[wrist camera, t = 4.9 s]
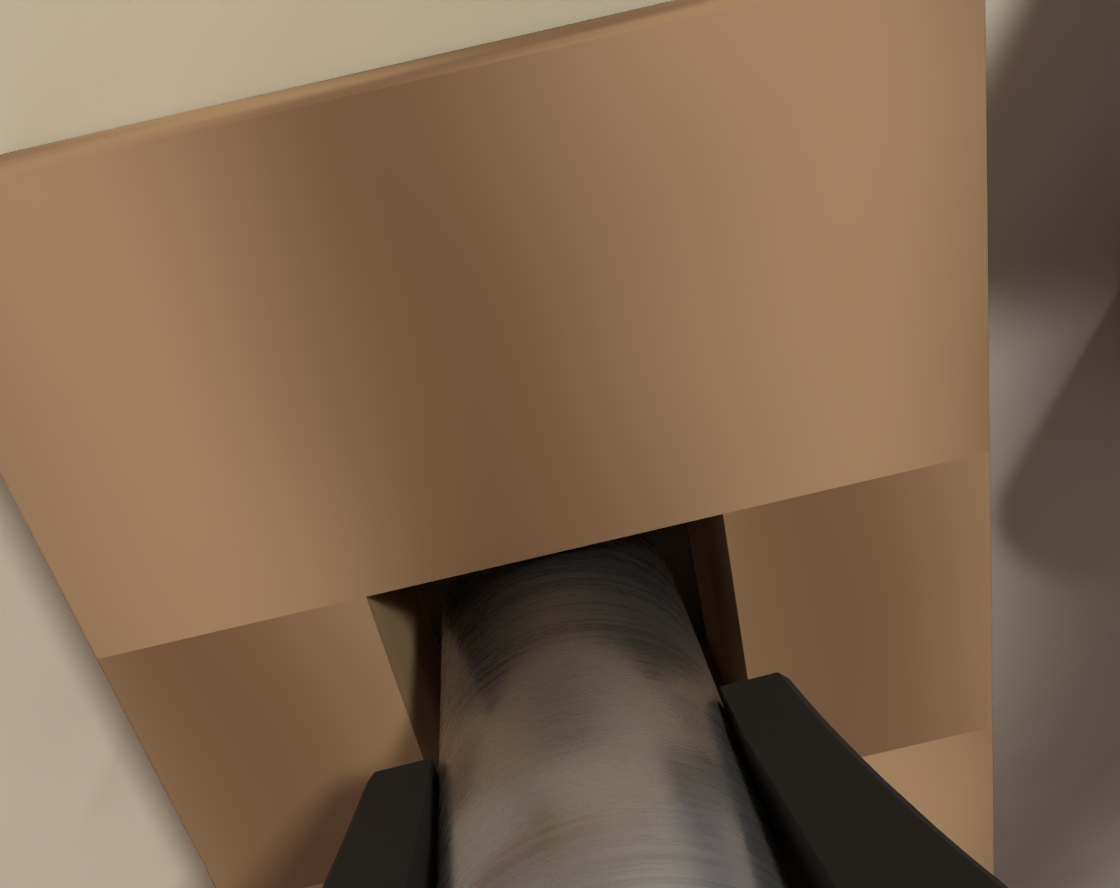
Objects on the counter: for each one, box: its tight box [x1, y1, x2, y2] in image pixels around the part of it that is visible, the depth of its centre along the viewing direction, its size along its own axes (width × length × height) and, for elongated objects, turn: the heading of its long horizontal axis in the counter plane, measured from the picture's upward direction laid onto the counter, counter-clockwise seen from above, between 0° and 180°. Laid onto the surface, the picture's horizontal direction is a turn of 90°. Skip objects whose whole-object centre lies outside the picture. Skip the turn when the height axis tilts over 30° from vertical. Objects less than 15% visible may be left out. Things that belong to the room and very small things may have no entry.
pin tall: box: [436, 534, 794, 888], centre depth 9 cm, size 3×3×7 cm
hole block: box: [0, 0, 994, 888], centre depth 13 cm, size 10×14×3 cm
